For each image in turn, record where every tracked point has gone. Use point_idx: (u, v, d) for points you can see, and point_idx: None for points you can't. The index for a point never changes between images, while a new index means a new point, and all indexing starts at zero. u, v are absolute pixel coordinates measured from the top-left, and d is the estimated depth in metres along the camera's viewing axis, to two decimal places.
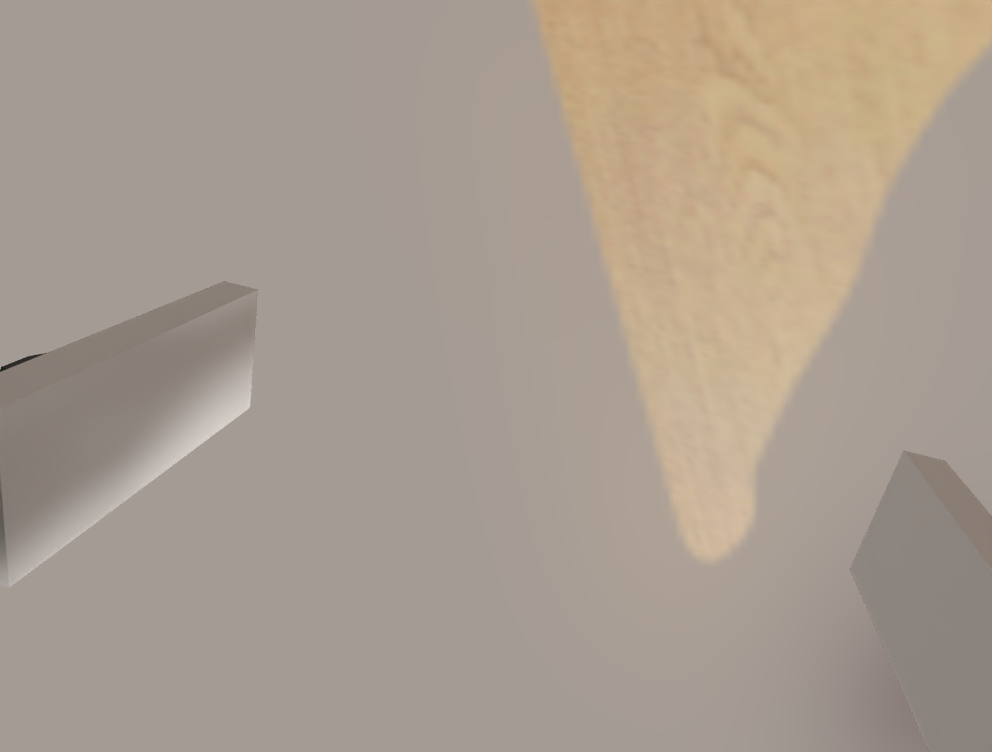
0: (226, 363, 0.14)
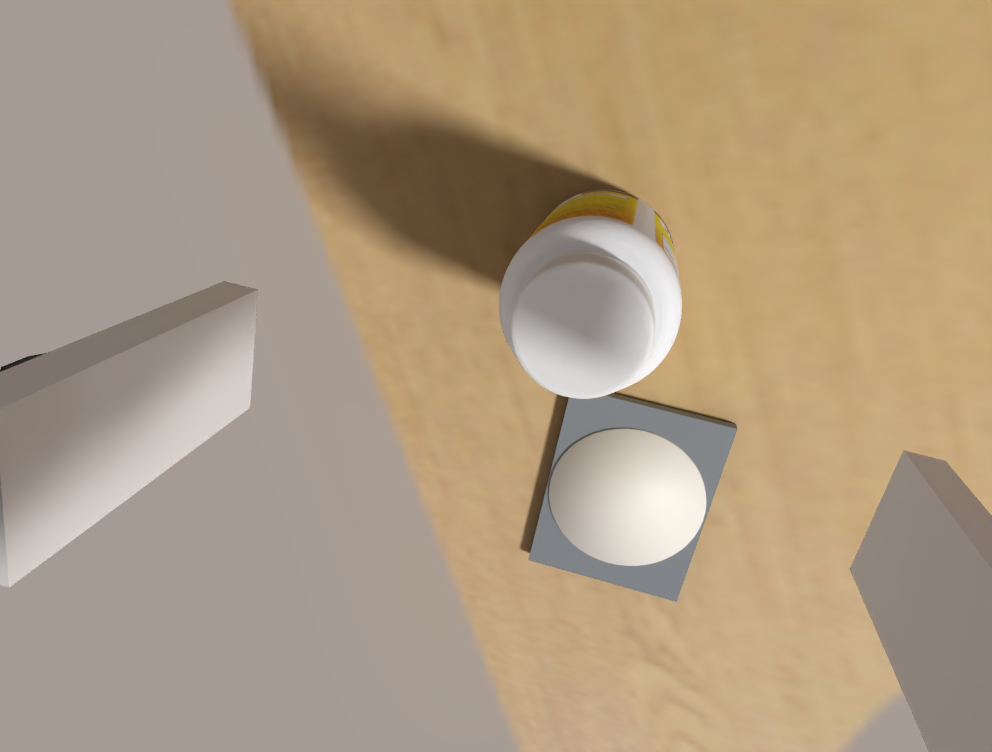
0: (226, 363, 0.14)
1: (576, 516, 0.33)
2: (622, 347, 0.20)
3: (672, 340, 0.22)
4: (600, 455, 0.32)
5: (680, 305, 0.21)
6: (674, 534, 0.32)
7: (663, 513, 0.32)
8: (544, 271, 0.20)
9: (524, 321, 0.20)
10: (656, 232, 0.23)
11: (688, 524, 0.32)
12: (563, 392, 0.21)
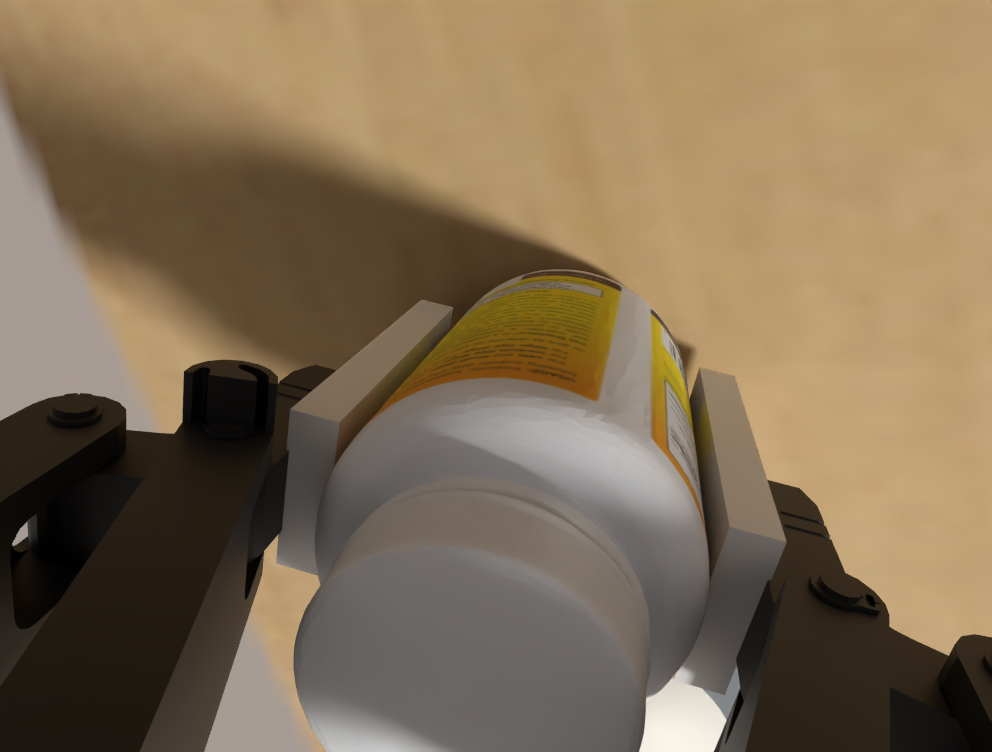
0: None
1: None
2: (563, 747, 0.08)
3: (688, 653, 0.10)
4: None
5: (706, 582, 0.09)
6: None
7: None
8: (362, 558, 0.08)
9: (322, 667, 0.08)
10: (653, 390, 0.11)
11: None
12: None
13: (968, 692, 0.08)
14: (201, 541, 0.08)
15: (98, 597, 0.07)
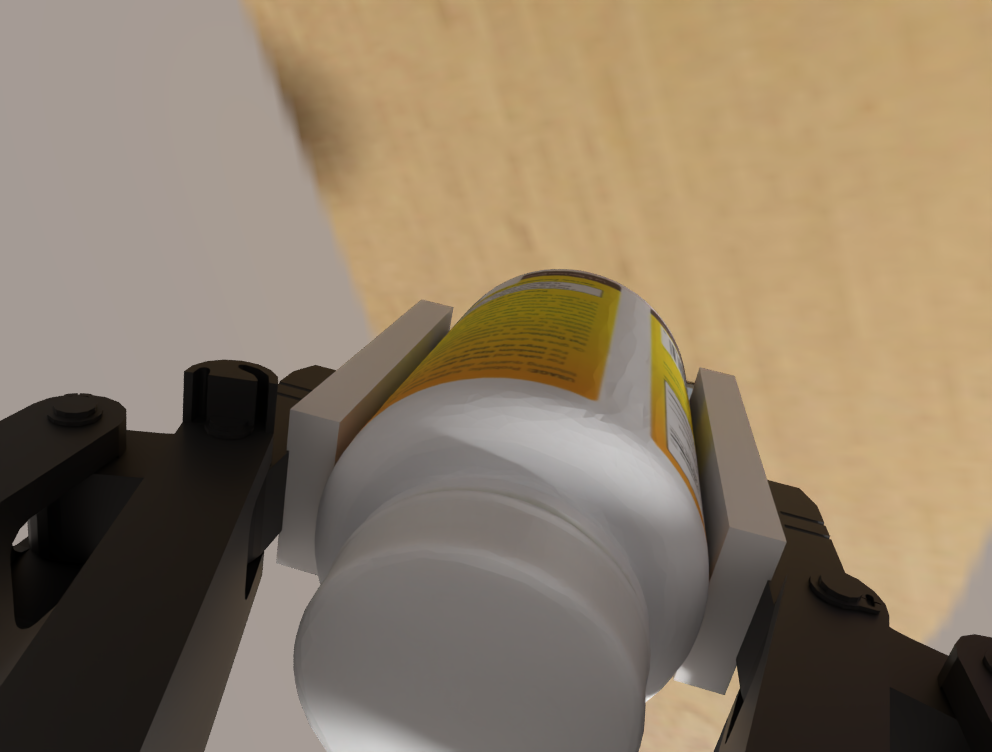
0: None
1: None
2: (563, 746, 0.08)
3: (687, 652, 0.10)
4: None
5: (706, 582, 0.09)
6: None
7: None
8: (361, 558, 0.08)
9: (322, 666, 0.08)
10: (652, 390, 0.11)
11: None
12: None
13: (968, 692, 0.08)
14: (201, 541, 0.08)
15: (98, 597, 0.07)
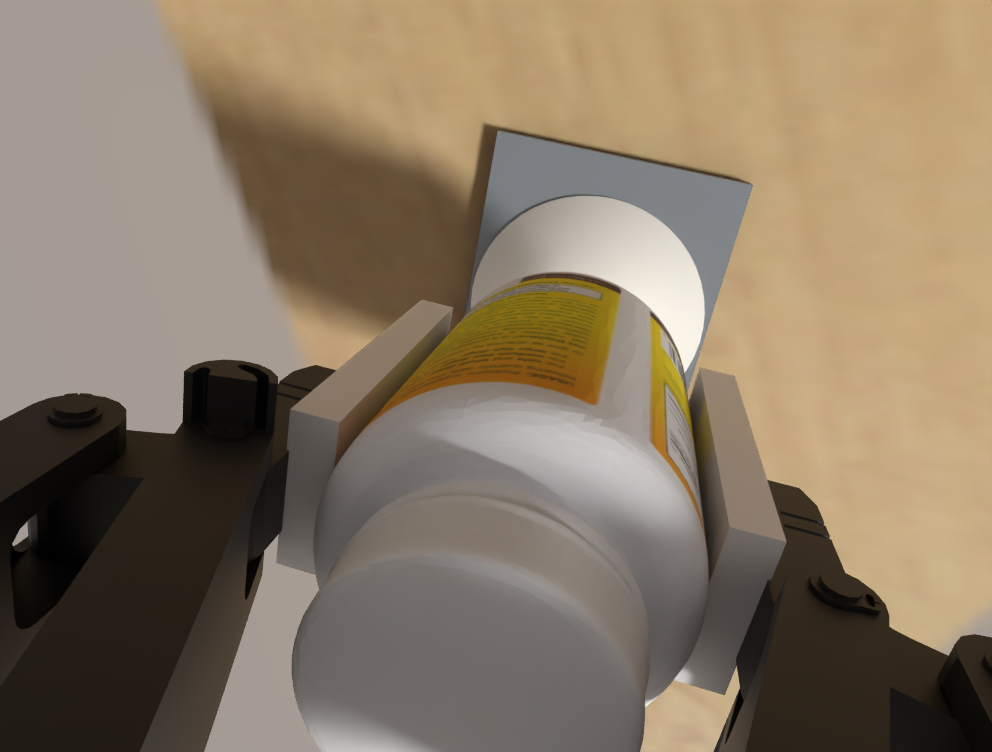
0: None
1: None
2: None
3: (687, 657, 0.10)
4: (545, 244, 0.21)
5: (706, 587, 0.09)
6: None
7: None
8: (360, 564, 0.08)
9: (320, 672, 0.08)
10: (652, 393, 0.11)
11: None
12: None
13: (968, 692, 0.08)
14: (202, 541, 0.08)
15: (98, 597, 0.07)
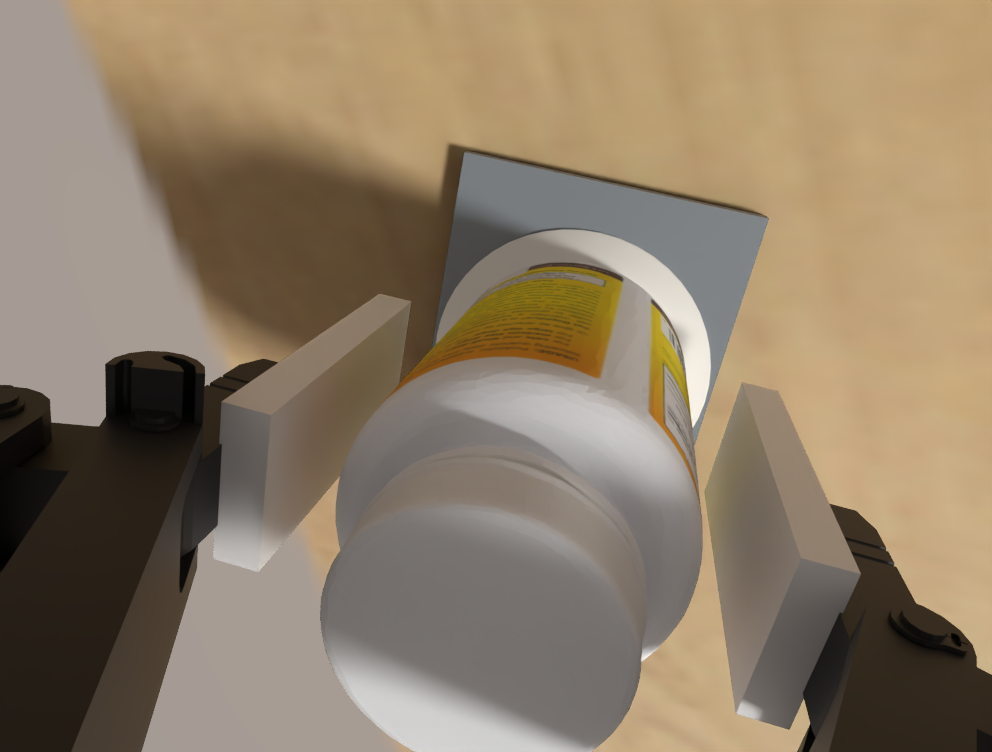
0: (387, 369, 0.16)
1: None
2: (567, 688, 0.09)
3: (682, 613, 0.10)
4: None
5: (699, 547, 0.10)
6: None
7: None
8: (384, 516, 0.08)
9: (346, 617, 0.09)
10: (651, 371, 0.12)
11: None
12: None
13: None
14: (130, 535, 0.08)
15: (23, 595, 0.07)
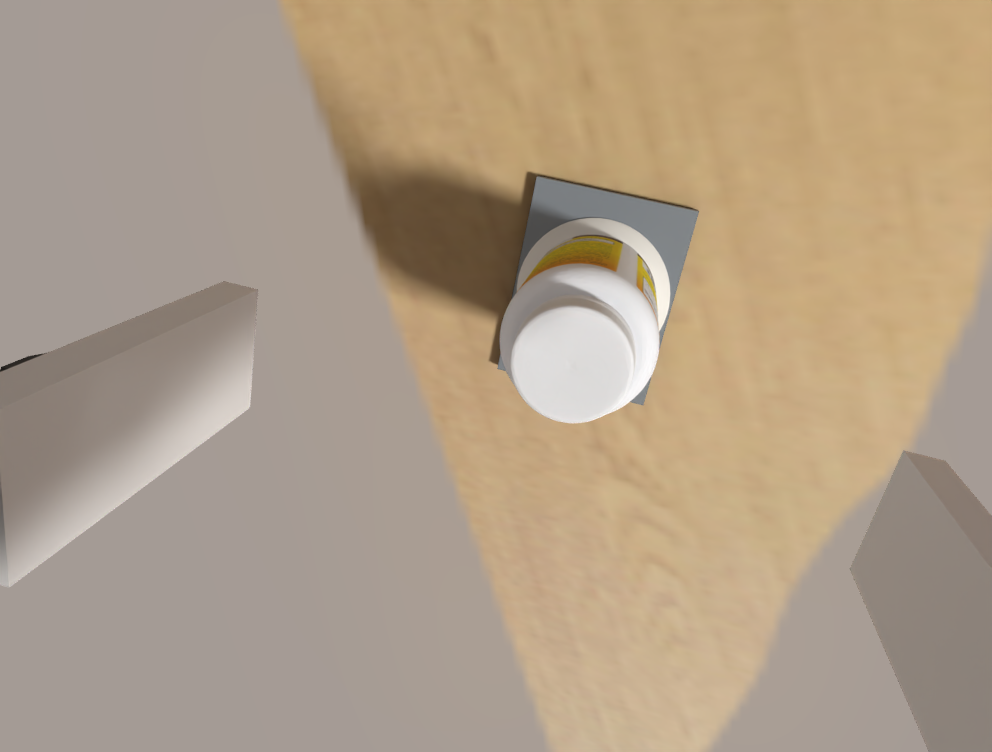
0: (226, 363, 0.14)
1: None
2: (606, 378, 0.23)
3: (651, 371, 0.25)
4: None
5: (657, 341, 0.25)
6: None
7: None
8: (539, 313, 0.23)
9: (522, 356, 0.23)
10: (637, 276, 0.26)
11: None
12: (556, 417, 0.24)
13: None
14: None
15: None
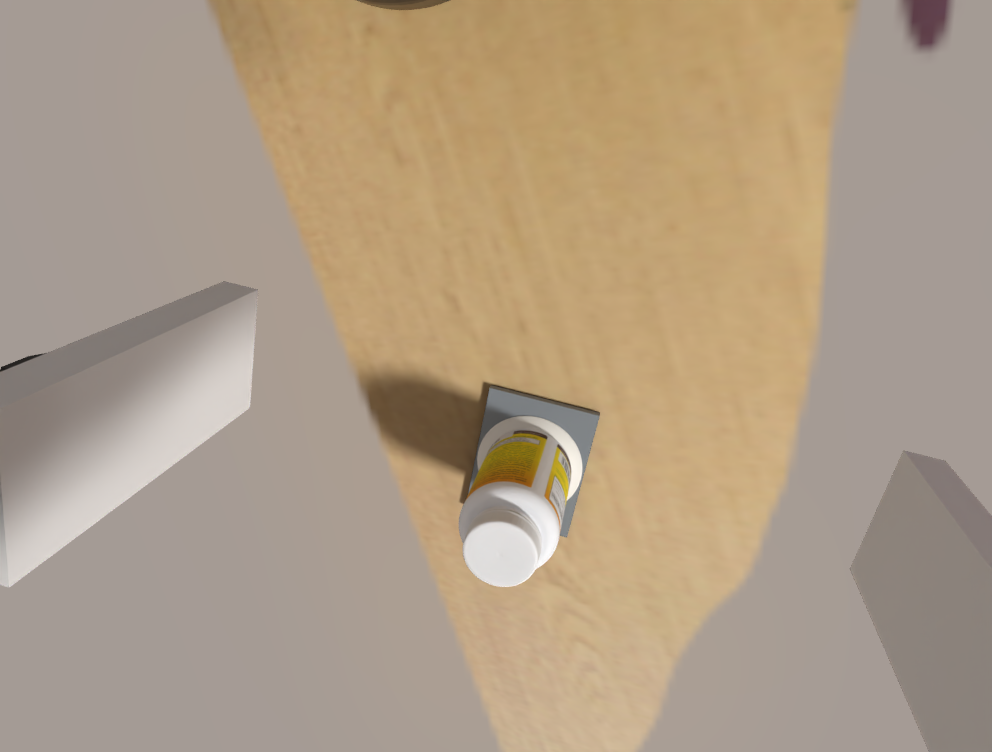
0: (226, 363, 0.14)
1: None
2: (521, 563, 0.37)
3: (554, 549, 0.39)
4: None
5: (557, 531, 0.39)
6: None
7: None
8: (479, 524, 0.37)
9: (469, 547, 0.38)
10: (548, 480, 0.41)
11: (571, 481, 0.47)
12: (491, 583, 0.38)
13: None
14: None
15: None
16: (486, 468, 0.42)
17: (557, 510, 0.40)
